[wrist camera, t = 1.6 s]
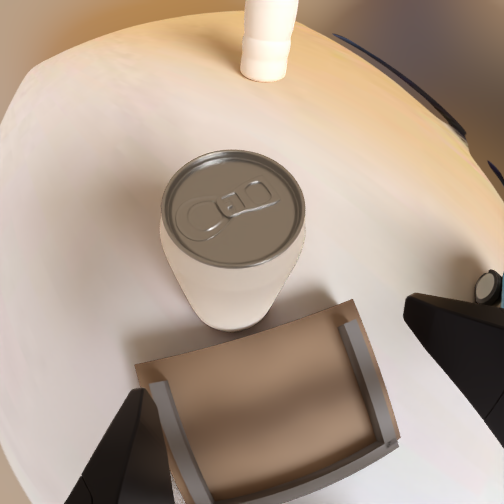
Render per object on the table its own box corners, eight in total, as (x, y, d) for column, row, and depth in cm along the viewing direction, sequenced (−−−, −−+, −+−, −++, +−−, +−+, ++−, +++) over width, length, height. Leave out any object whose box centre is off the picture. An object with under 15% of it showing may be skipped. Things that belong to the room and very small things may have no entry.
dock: (384, 433, 17) (409, 439, 13) (196, 502, 13) (190, 523, 10) (340, 307, 21) (359, 294, 18) (145, 366, 18) (128, 363, 15)
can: (176, 275, 21) (131, 175, 11) (246, 241, 23) (261, 128, 12) (213, 348, 19) (191, 314, 8) (287, 307, 21) (347, 231, 10)
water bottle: (248, 85, 34) (265, -71, 11) (234, 66, 37) (245, -68, 14) (292, 83, 35) (321, -61, 13) (274, 64, 38) (294, -62, 16)
